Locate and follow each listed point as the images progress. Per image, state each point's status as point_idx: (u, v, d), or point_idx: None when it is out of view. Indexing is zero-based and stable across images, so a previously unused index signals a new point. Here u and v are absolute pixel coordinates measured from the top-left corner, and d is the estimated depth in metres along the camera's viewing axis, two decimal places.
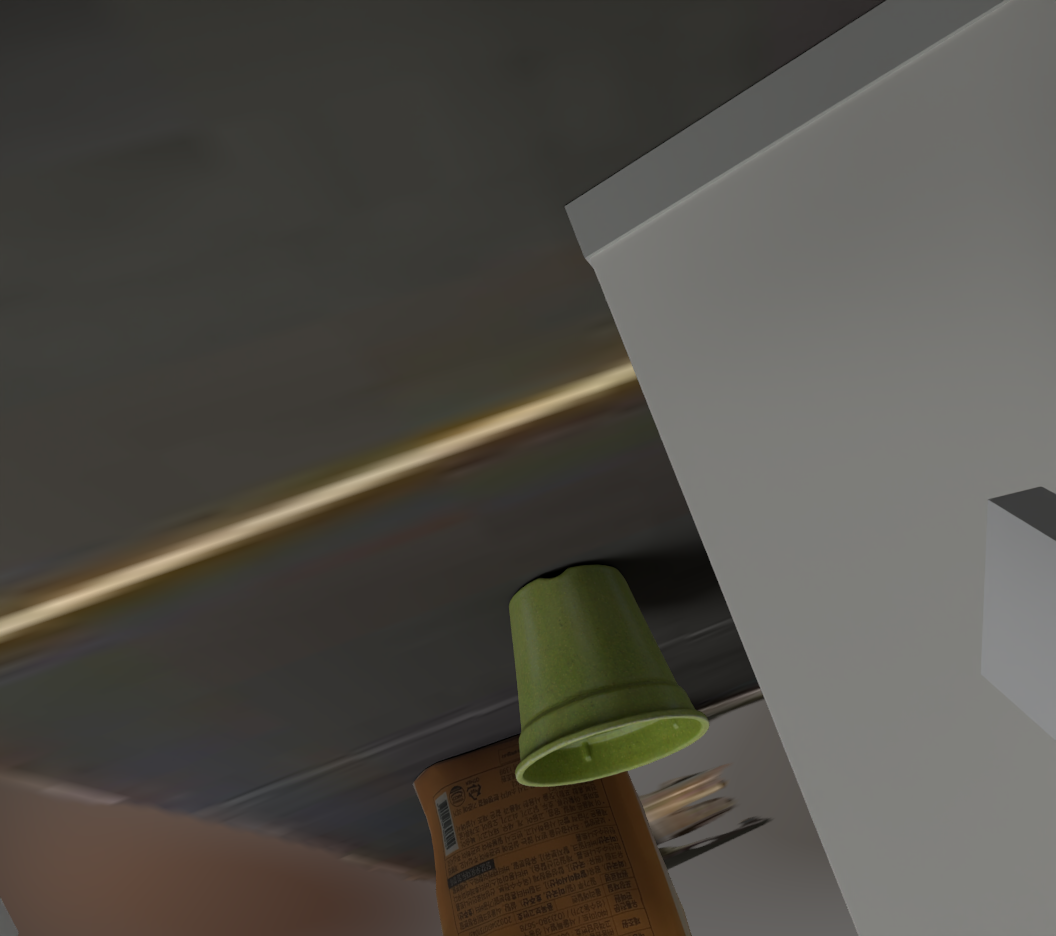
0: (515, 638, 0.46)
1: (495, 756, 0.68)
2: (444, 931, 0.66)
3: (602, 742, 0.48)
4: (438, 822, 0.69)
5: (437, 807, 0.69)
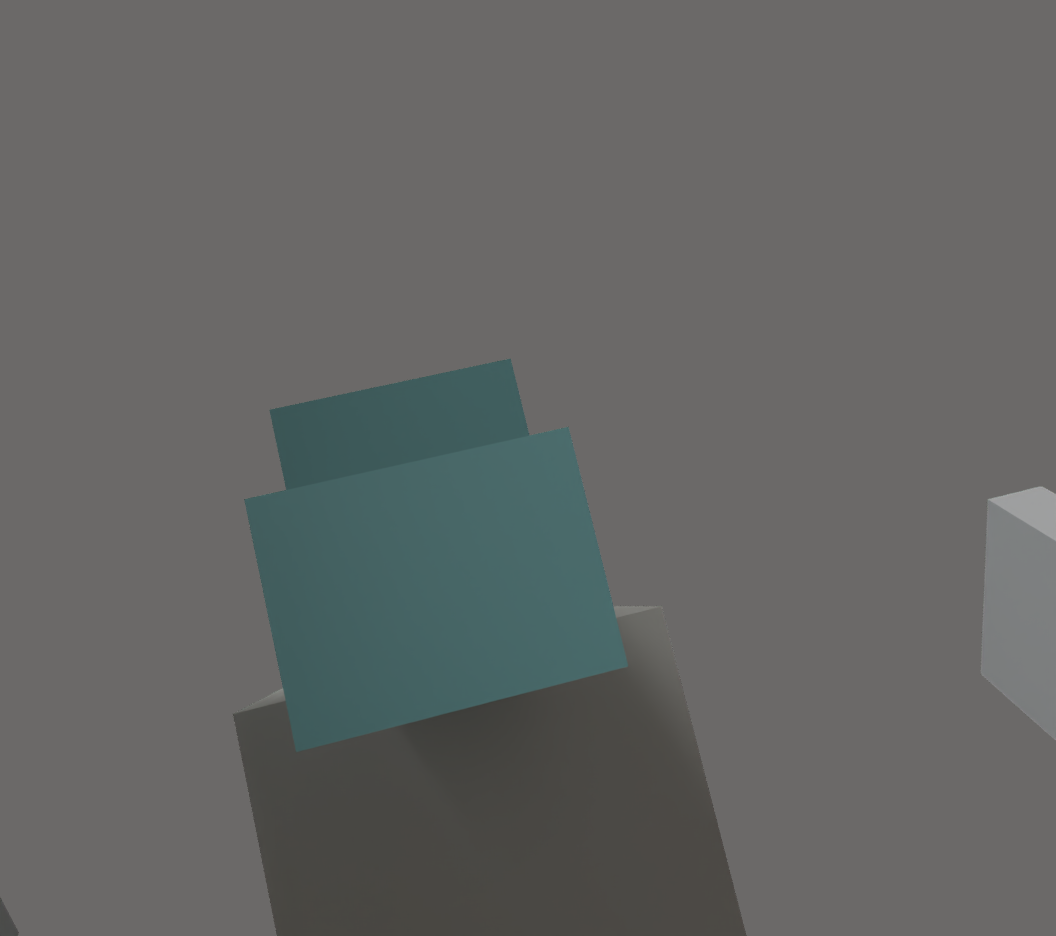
0: None
1: None
2: None
3: None
4: None
5: None
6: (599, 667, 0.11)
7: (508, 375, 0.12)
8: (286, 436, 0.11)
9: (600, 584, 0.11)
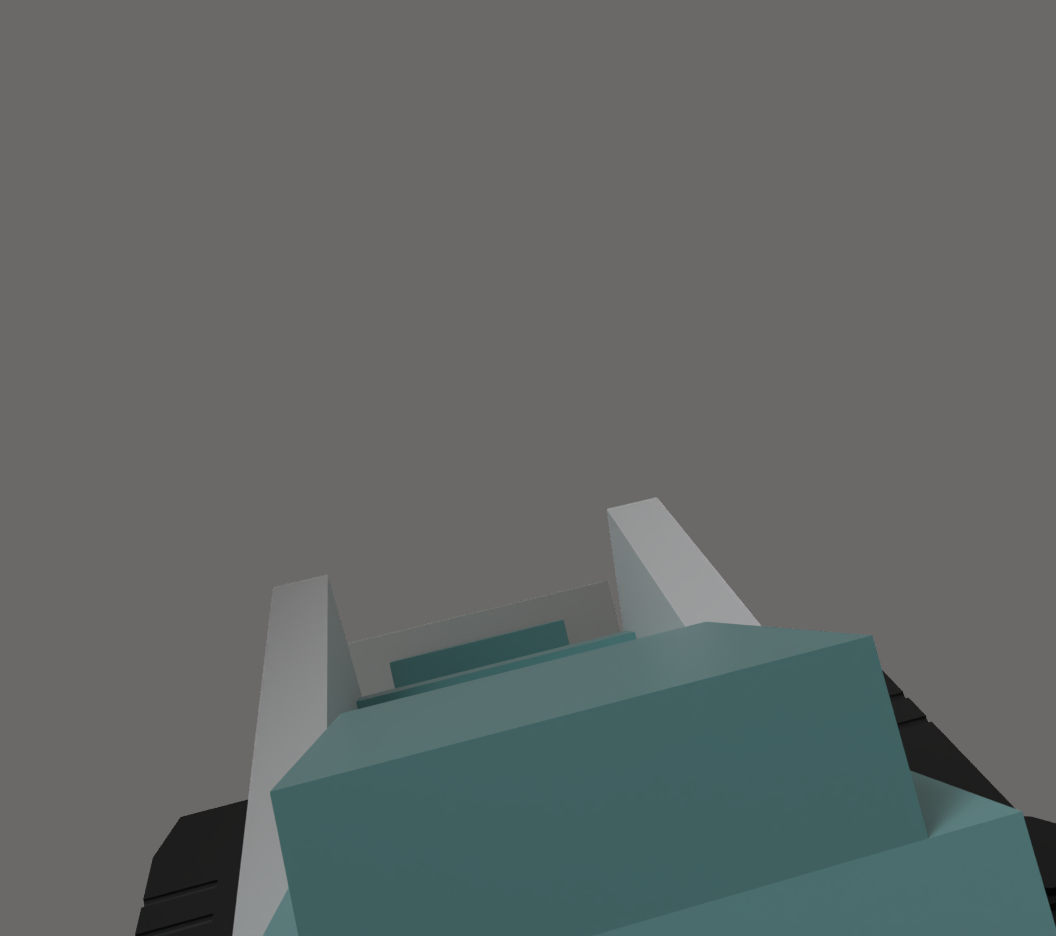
0: None
1: None
2: None
3: None
4: None
5: None
6: None
7: (871, 681, 0.05)
8: (313, 863, 0.04)
9: None
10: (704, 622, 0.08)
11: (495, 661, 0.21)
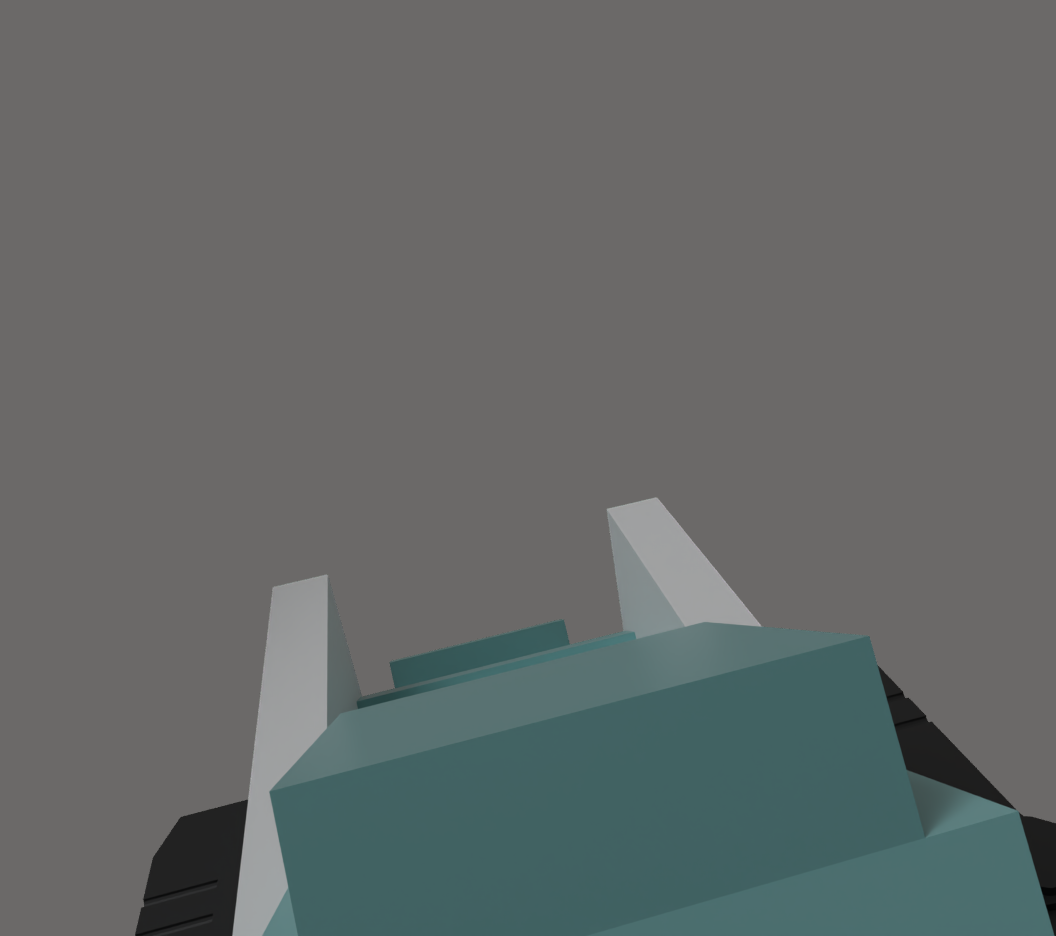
0: None
1: None
2: None
3: None
4: None
5: None
6: None
7: (867, 681, 0.05)
8: (313, 863, 0.04)
9: None
10: (703, 623, 0.08)
11: (495, 661, 0.21)
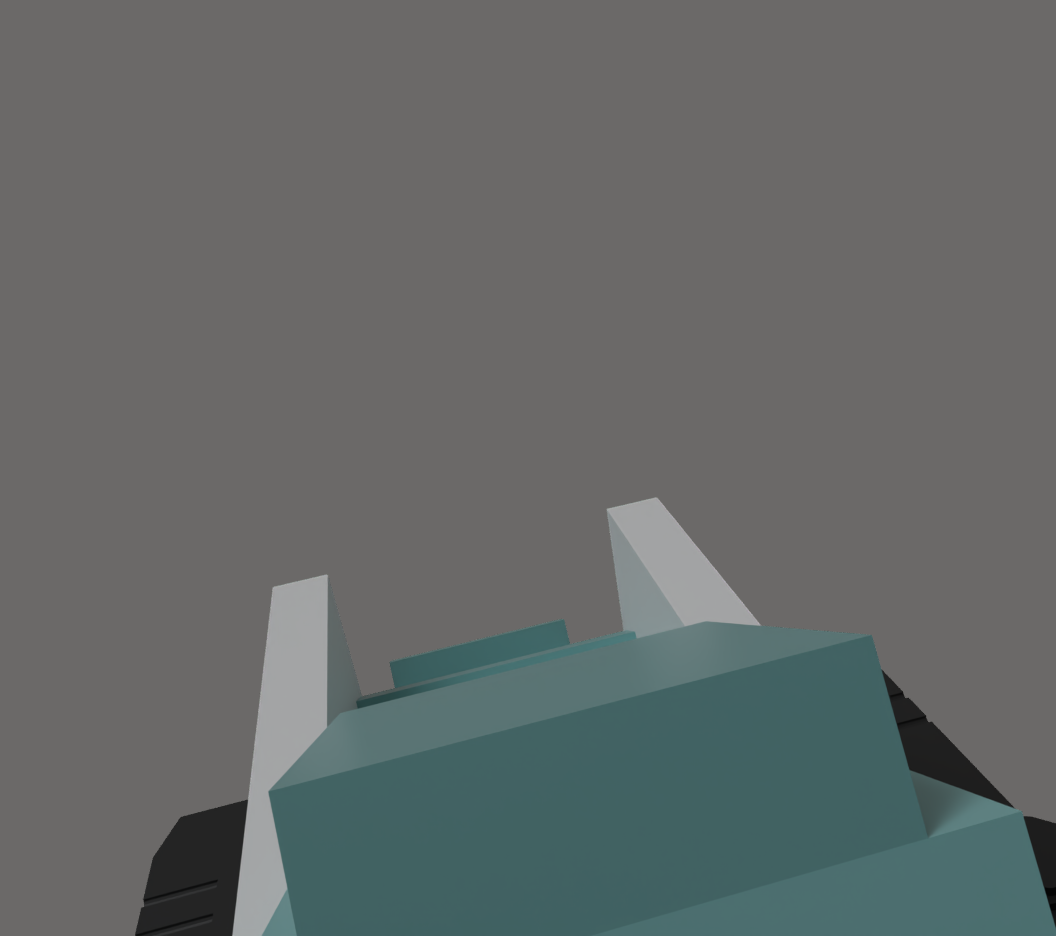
0: None
1: None
2: None
3: None
4: None
5: None
6: None
7: (869, 680, 0.05)
8: (311, 863, 0.04)
9: None
10: (703, 622, 0.08)
11: (495, 661, 0.21)
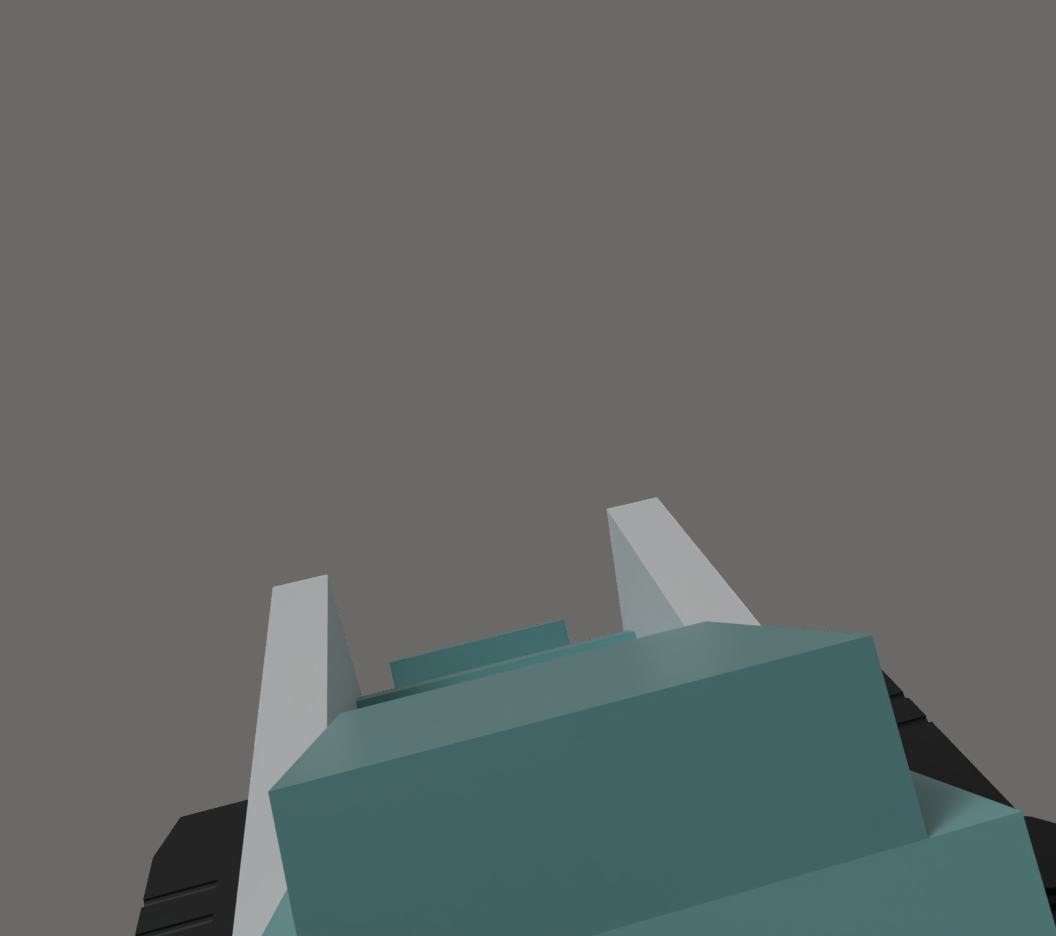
0: None
1: None
2: None
3: None
4: None
5: None
6: None
7: (870, 680, 0.05)
8: (312, 863, 0.04)
9: None
10: (704, 622, 0.08)
11: (495, 661, 0.21)
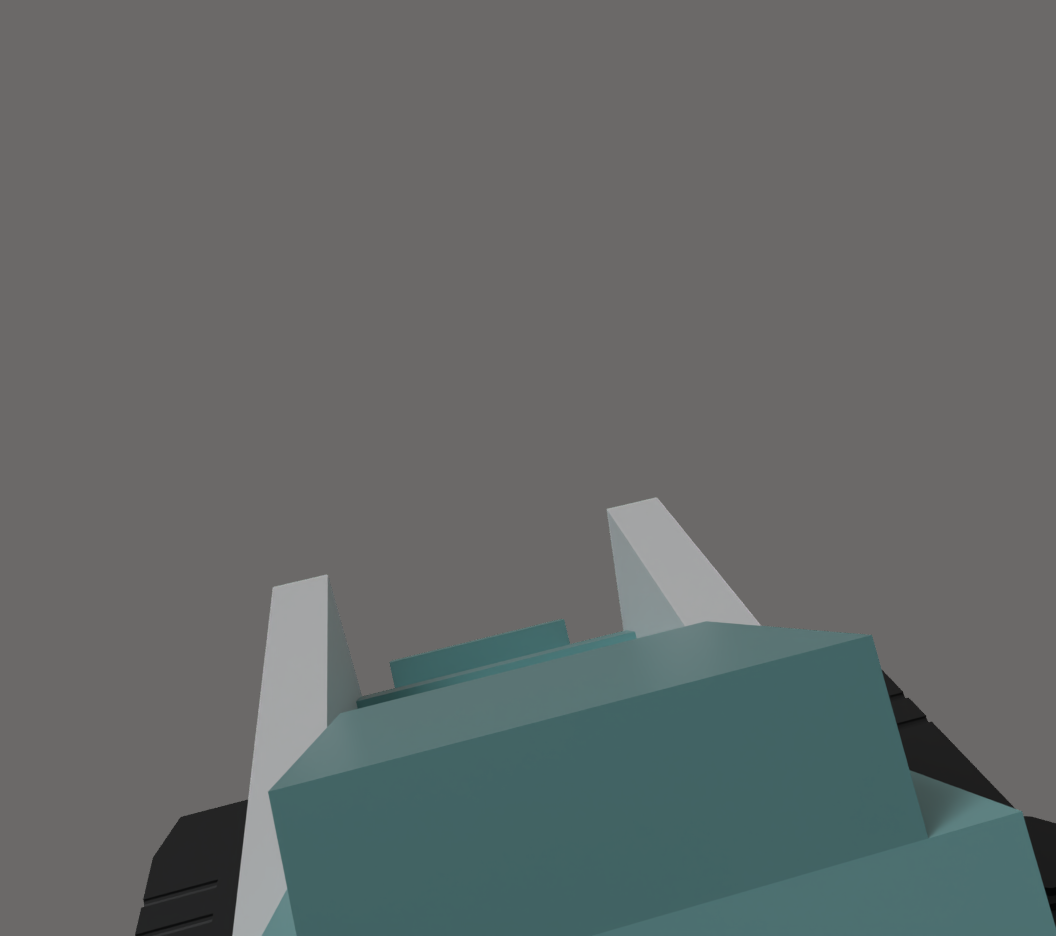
0: None
1: None
2: None
3: None
4: None
5: None
6: None
7: (870, 680, 0.05)
8: (312, 863, 0.04)
9: None
10: (704, 622, 0.08)
11: (495, 661, 0.21)
